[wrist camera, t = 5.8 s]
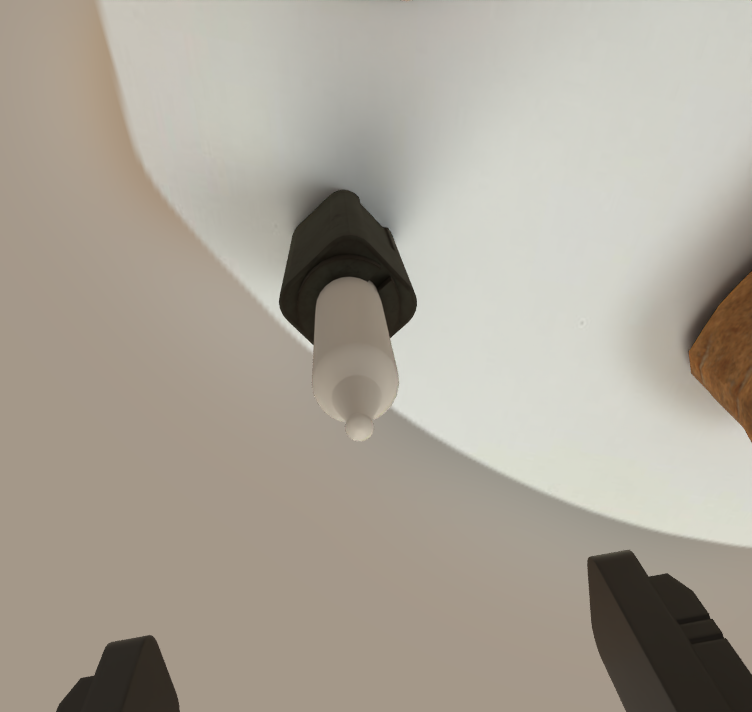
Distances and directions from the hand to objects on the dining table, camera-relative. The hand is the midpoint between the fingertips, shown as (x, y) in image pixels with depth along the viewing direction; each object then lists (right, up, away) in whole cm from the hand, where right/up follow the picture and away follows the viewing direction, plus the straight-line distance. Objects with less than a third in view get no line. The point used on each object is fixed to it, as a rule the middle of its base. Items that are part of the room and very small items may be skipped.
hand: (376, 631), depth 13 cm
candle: (-2, +12, +31) cm, 33 cm away
